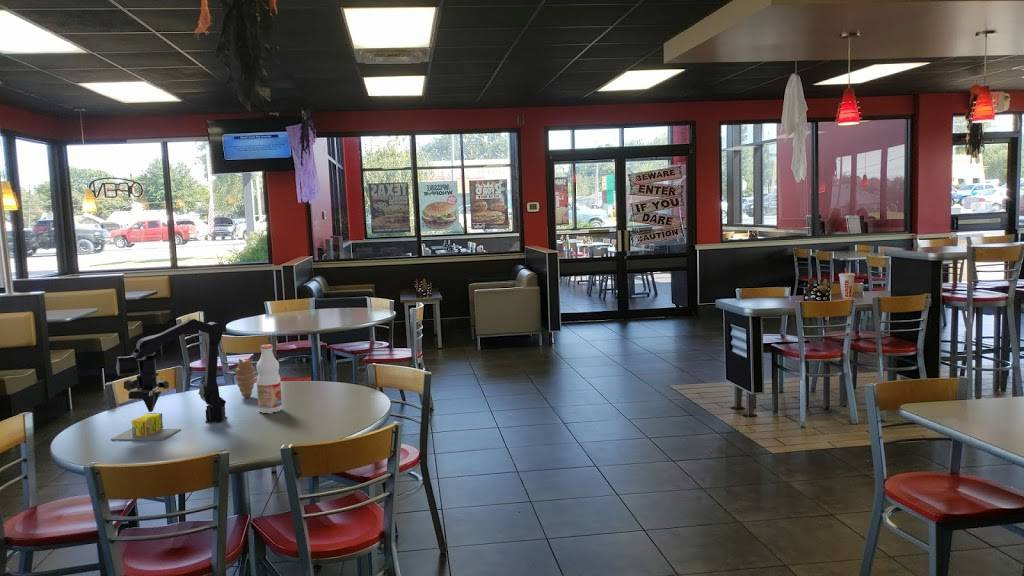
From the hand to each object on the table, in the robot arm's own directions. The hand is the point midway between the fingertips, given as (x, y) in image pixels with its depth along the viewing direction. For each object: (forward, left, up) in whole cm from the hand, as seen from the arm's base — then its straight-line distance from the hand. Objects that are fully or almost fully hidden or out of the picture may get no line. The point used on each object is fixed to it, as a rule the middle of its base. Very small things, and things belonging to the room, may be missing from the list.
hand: (150, 411), depth 290 cm
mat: (0, +4, -8) cm, 9 cm away
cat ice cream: (-15, -53, -8) cm, 56 cm away
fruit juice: (-35, -30, -8) cm, 47 cm away
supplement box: (0, -4, -4) cm, 6 cm away
